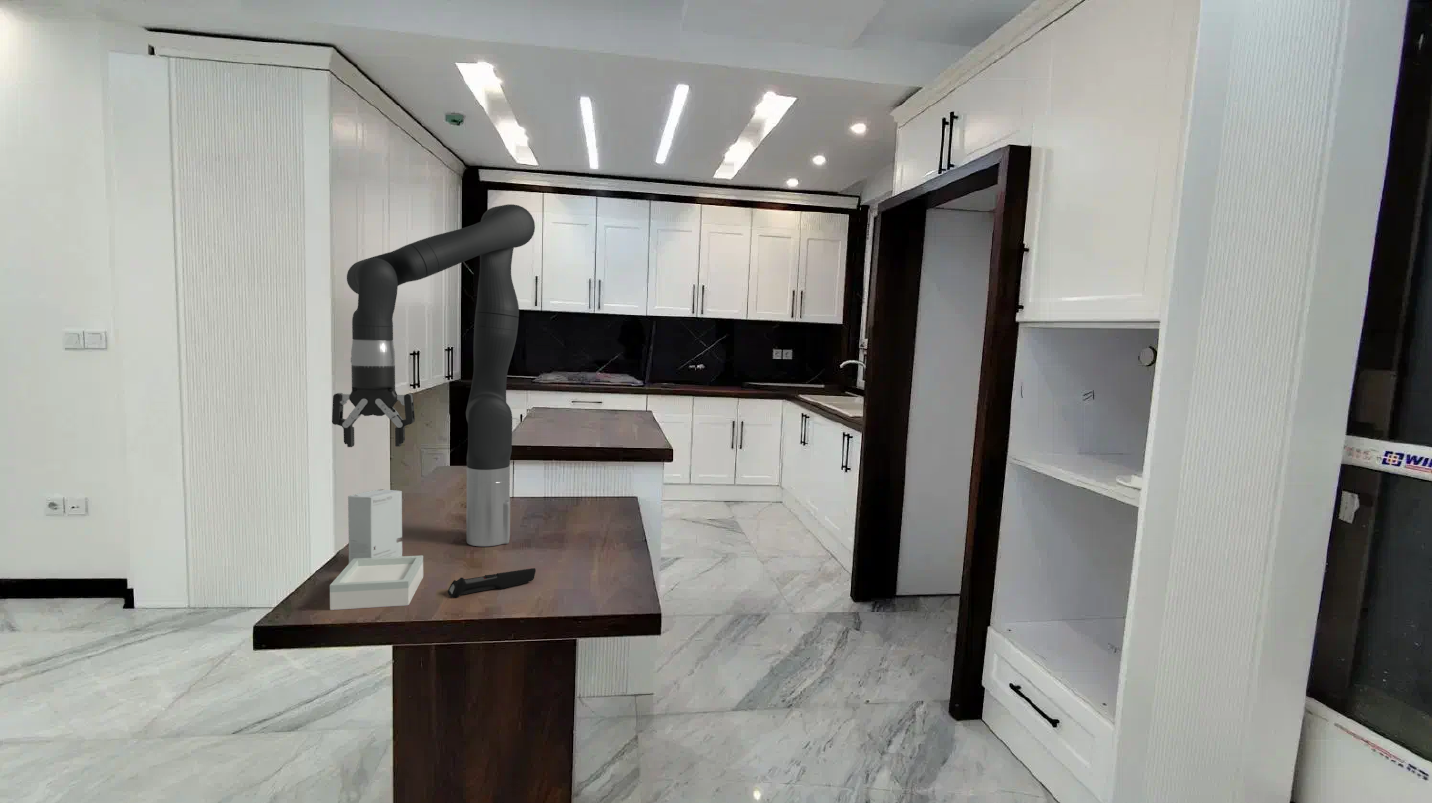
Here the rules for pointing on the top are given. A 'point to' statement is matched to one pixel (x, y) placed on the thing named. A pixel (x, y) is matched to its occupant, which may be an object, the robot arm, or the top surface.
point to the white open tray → (377, 582)
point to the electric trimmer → (490, 582)
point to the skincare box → (375, 524)
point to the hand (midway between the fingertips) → (374, 446)
